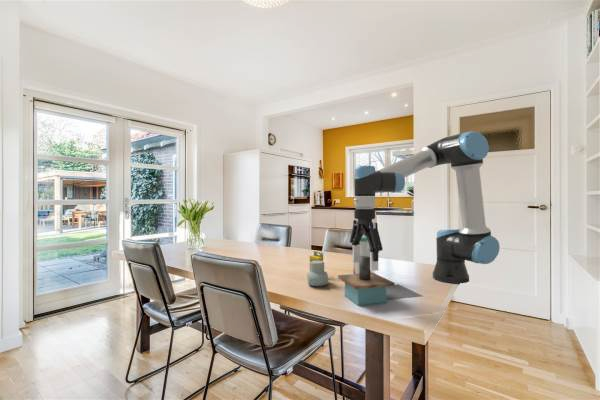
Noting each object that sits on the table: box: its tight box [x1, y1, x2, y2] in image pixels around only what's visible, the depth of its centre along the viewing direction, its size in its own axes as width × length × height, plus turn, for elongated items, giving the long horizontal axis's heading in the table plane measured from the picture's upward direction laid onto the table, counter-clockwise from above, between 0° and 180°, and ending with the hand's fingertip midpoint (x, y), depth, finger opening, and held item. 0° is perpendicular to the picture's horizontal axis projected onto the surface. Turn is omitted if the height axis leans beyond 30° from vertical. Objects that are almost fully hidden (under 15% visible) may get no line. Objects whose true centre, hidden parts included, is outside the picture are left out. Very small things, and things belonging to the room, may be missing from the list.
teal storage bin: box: [344, 282, 387, 307], centre depth 110 cm, size 11×11×7 cm
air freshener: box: [306, 260, 329, 287], centre depth 131 cm, size 11×8×10 cm
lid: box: [337, 256, 396, 289], centre depth 110 cm, size 15×15×9 cm
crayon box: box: [309, 250, 324, 272], centre depth 144 cm, size 7×3×12 cm, turn 35°
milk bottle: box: [353, 236, 372, 274], centre depth 136 cm, size 8×8×20 cm
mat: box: [386, 284, 423, 301], centre depth 119 cm, size 16×16×1 cm
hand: (364, 266), depth 110 cm, fingers open, 13 cm apart
